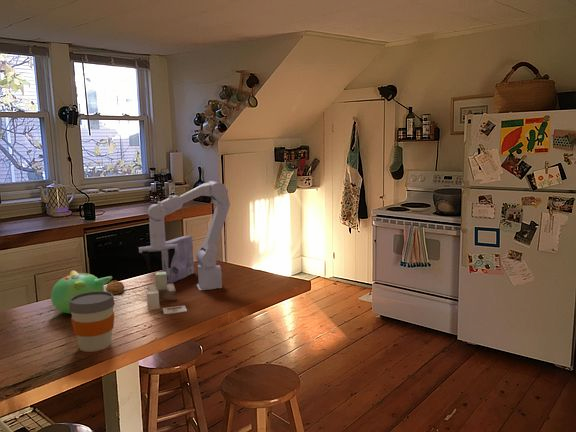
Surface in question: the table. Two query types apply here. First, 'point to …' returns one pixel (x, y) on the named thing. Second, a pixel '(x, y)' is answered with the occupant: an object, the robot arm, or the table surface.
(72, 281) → the green rounded plush
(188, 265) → the cake pan box
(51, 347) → the table surface
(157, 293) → the cream block
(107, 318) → the reusable coffee cup
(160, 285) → the sage block
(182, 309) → the card
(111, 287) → the pastry
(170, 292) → the taupe square block
